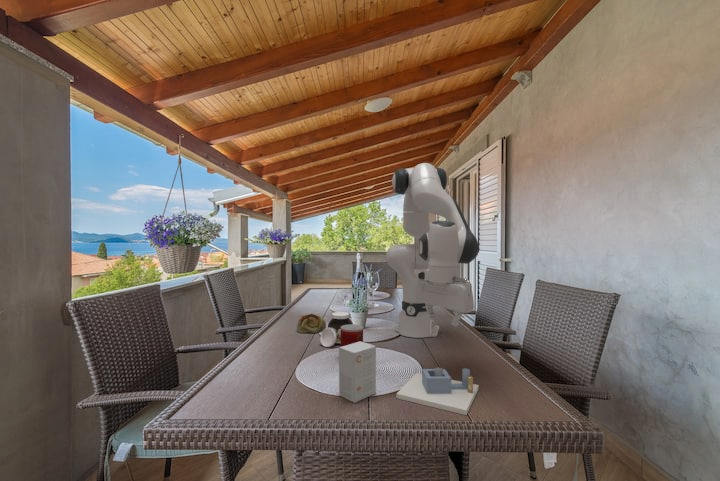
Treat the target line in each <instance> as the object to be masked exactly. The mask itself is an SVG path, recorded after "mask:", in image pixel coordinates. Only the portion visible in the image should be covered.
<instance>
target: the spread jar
mask: <svg viewBox="0 0 720 481" xmlns="http://www.w3.org/2000/svg"><path fill="white" fill-rule="evenodd" d="M348 324H354V323H353V321H352V320H351V318H350V313H349V312H346V311H336V312H333V313H331V319H330V320H329V321H328V324H327V328H326V329H324V330H322V331H321V334H320V344H321V345H322V346H323V347H326V348H331V347H332V346H339V347H340V332H341V326H343V325H348Z"/></svg>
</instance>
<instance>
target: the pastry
mask: <svg viewBox="0 0 720 481" xmlns="http://www.w3.org/2000/svg"><path fill="white" fill-rule="evenodd" d="M296 326H297V327H296V329H297V333H299V334H318V333H320V332H321V333H322V332H323V331H324V330H325V328H326V329H327V323H326V321H325V319H324V318H323V317H322V316H320V315H318V314H317V315H316V314H315V313H310V314H305V315H302V316H301V317H300V318H299V319H298V321H297V325H296Z"/></svg>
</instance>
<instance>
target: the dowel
mask: <svg viewBox="0 0 720 481" xmlns="http://www.w3.org/2000/svg"><path fill="white" fill-rule="evenodd" d="M473 384H474V377H473V376H472V375H470V376H468V384H467V392H468V393H473Z"/></svg>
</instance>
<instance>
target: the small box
mask: <svg viewBox="0 0 720 481" xmlns="http://www.w3.org/2000/svg"><path fill="white" fill-rule="evenodd" d="M376 347H377V346H376V345H373V344H371V343H367V342H364V341H363V342H361V341H360V342H356V343H353V344H349V345H346V346H342V347H340V346H339V347H338V357H339V358H338V367H339V368H338V381H339V382H338V388H339V389H338V391H339V392H338V393H339V396H340V397H342V398H343V399H346V400H348V401H350V402H352V403H354V404H355V403H358V402H359V401H362V400H364V399H366V398H368V397H371V396H372V395H373V396H374V395H376V393H377V382H376V381H377V371H376V370H377V360H376V359H377V353H376V352H377V351H376V350H377V348H376Z"/></svg>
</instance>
